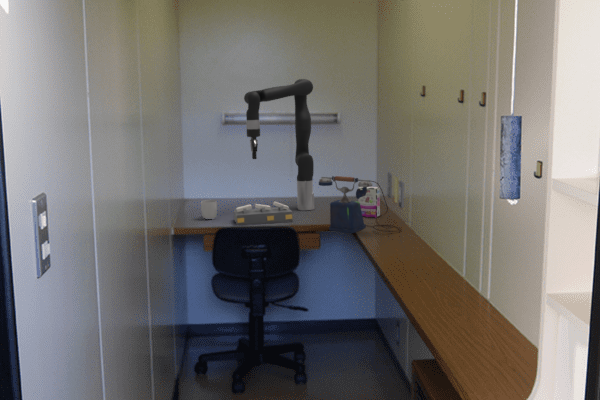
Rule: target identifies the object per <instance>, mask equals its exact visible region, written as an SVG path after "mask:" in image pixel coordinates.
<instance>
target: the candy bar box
mask: <svg viewBox="0 0 600 400" xmlns="http://www.w3.org/2000/svg"><path fill="white" fill-rule="evenodd" d="M380 187H381V186H380ZM380 187H379V186H371V187H367V193H366V195H365V196H363V197H360V198H359V199H357V200H358V201H357V202H360V206H361V211H362V216H363V218H372V219H373V218H375V219H377V218H379V217H380V216H379V215H381V202H380V201H381V189H380ZM357 189H360V190H362V189H363V187H359V186H358V188H357ZM378 216H379V217H378ZM376 217H377V218H376Z"/></svg>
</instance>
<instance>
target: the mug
mask: <svg viewBox="0 0 600 400" xmlns="http://www.w3.org/2000/svg"><path fill="white" fill-rule="evenodd" d="M200 209H201V215H202V218H203V217H204V218H215V217H216V218H217V214H218V202H217V200H216V199H204V200H201V201H200ZM204 218H203V219H204ZM216 218H215V219H216Z"/></svg>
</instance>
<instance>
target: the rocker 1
mask: <svg viewBox="0 0 600 400" xmlns="http://www.w3.org/2000/svg"><path fill="white" fill-rule="evenodd" d="M245 208H246V209H247V210H248V209H253V207H252V205H251V203H250V204H246V205H242V206H238V207H236V208H235V210H237V212H240V211H243V209H245Z"/></svg>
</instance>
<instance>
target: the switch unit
mask: <svg viewBox="0 0 600 400" xmlns="http://www.w3.org/2000/svg"><path fill="white" fill-rule="evenodd" d="M233 219H234V220H235V221H234V222H236V223H235V224H236V226H237V225H239V226H248V225H247V224H252V225H261V224H263V225H264V224H265V225H266V224H276V223H289V222H290V223H292V221H293V210H291V208H290V207H289V208H288V210H286V209H284V208H283V206H280V207H278V206H275V207H271V209H270V210H267V209H265V207H262V209H260V208H251V209H248V210H247V209H246V208H245V209H243V211H240V212H237V209H234V210H233Z"/></svg>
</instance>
